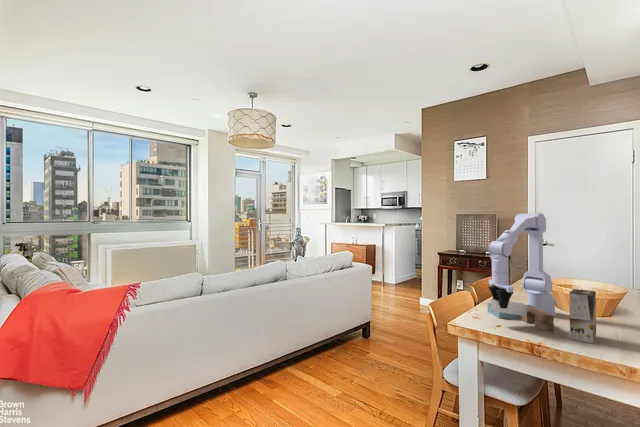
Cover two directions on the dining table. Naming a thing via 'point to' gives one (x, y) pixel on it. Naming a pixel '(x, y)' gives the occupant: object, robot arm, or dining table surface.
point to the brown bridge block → (539, 318)
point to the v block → (502, 314)
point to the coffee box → (583, 315)
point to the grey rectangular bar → (509, 307)
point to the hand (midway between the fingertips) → (500, 306)
